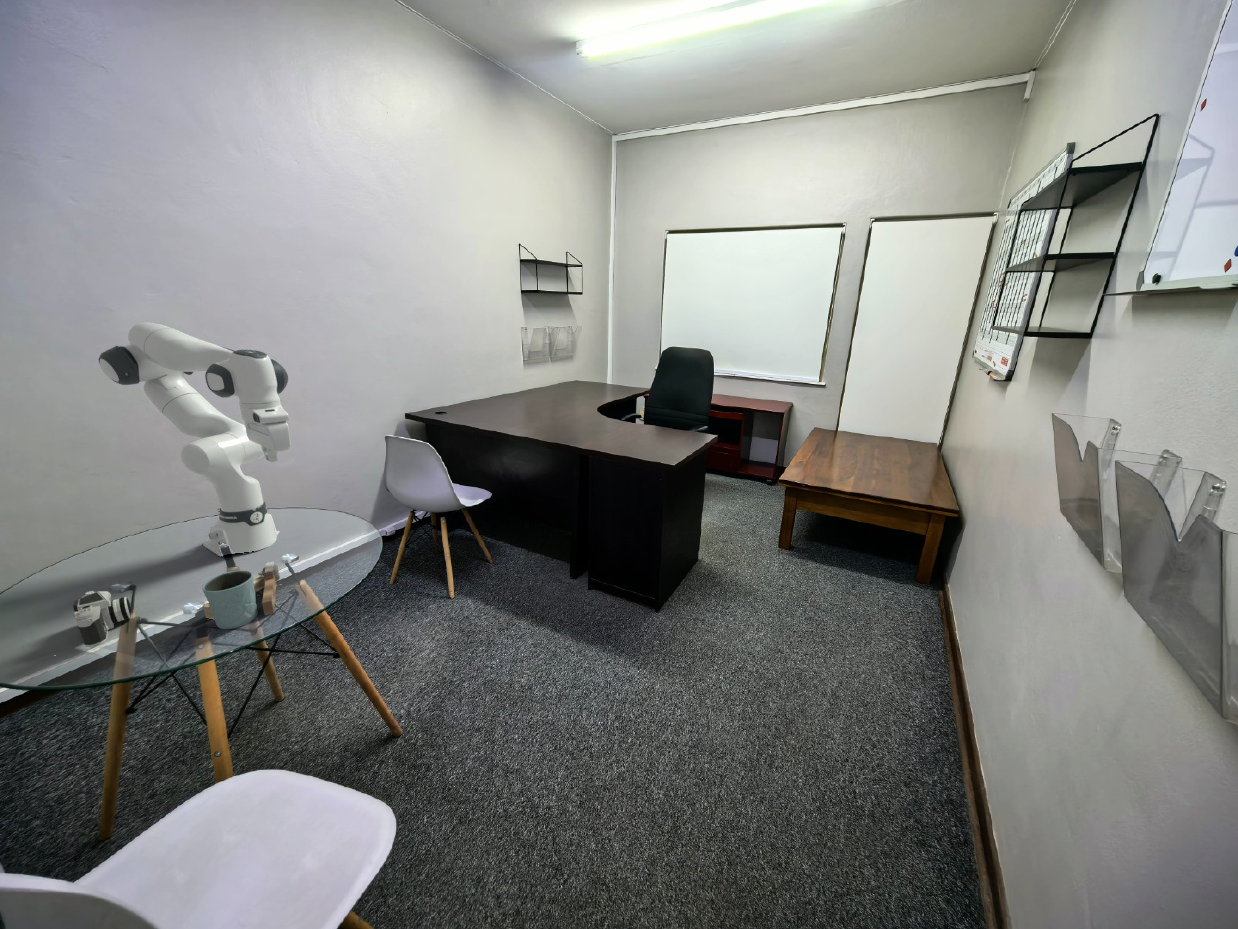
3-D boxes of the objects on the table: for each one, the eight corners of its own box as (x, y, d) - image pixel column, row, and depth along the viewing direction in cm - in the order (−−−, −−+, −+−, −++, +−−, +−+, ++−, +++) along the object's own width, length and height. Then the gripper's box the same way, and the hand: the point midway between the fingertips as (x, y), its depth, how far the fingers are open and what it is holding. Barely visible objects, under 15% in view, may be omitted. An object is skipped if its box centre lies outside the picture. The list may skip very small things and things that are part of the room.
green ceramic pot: (256, 604, 128) (247, 566, 124) (266, 619, 121) (257, 579, 118) (209, 620, 120) (198, 580, 117) (216, 637, 114) (205, 595, 110)
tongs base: (274, 580, 139) (271, 564, 138) (283, 582, 138) (280, 565, 137) (203, 618, 121) (199, 600, 119) (214, 620, 120) (209, 602, 118)
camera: (132, 635, 114) (121, 600, 111) (80, 651, 108) (66, 615, 105) (133, 607, 124) (123, 575, 121) (85, 620, 118) (73, 587, 116)
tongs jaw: (269, 581, 138) (265, 562, 136) (277, 579, 139) (274, 561, 137) (264, 615, 122) (260, 595, 120) (274, 613, 123) (269, 593, 121)
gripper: (234, 408, 126) (244, 456, 130) (262, 418, 115) (273, 470, 119) (261, 405, 131) (270, 452, 135) (291, 415, 120) (300, 465, 124)
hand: (271, 460), depth 126 cm, fingers closed
